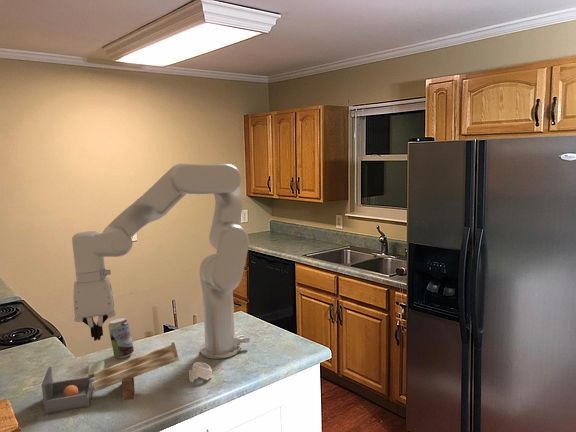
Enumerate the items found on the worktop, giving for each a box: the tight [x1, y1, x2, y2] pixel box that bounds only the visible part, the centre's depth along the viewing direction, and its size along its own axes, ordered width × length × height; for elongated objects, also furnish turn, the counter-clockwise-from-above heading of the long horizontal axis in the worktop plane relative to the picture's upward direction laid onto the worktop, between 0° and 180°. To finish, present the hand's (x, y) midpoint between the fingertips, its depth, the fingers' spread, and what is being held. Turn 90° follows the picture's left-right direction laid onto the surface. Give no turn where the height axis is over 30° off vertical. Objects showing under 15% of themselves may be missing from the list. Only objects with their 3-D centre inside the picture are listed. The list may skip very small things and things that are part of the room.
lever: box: [86, 341, 180, 393], centre depth 129 cm, size 24×17×4 cm
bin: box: [41, 366, 94, 416], centre depth 120 cm, size 10×10×8 cm
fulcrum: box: [121, 377, 135, 401], centre depth 125 cm, size 3×10×5 cm, turn 18°
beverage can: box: [107, 317, 135, 359], centre depth 146 cm, size 6×7×12 cm
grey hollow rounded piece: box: [188, 361, 213, 384], centre depth 131 cm, size 8×7×5 cm
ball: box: [63, 385, 78, 397], centre depth 120 cm, size 4×4×4 cm
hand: (97, 338), depth 131 cm, fingers closed
